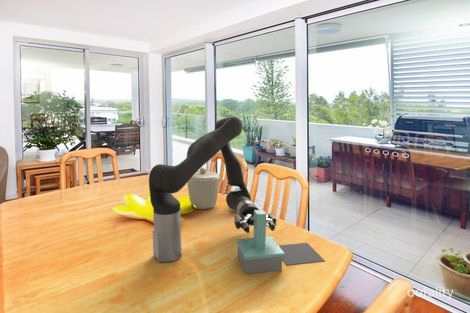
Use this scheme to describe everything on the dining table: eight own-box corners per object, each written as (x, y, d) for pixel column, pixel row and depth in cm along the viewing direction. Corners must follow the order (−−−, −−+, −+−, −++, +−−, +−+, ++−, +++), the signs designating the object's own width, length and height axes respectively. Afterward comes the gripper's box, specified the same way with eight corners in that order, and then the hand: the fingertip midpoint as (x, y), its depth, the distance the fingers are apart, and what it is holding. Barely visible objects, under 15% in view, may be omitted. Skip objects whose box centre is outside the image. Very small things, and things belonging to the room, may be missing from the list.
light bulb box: (242, 212, 155) (242, 191, 154) (229, 211, 157) (229, 190, 155) (245, 205, 166) (246, 185, 164) (233, 204, 167) (233, 185, 165)
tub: (281, 272, 100) (282, 255, 99) (246, 276, 98) (246, 259, 97) (269, 254, 112) (270, 239, 111) (237, 258, 109) (237, 242, 108)
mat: (324, 263, 106) (324, 260, 106) (286, 267, 103) (286, 264, 103) (306, 245, 120) (307, 242, 120) (272, 248, 117) (272, 245, 117)
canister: (226, 208, 160) (226, 169, 157) (195, 214, 151) (194, 173, 147) (210, 199, 176) (210, 163, 172) (181, 204, 166) (180, 166, 162)
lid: (284, 258, 99) (285, 217, 97) (245, 263, 96) (245, 220, 94) (271, 241, 112) (272, 204, 109) (236, 244, 109) (236, 206, 106)
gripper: (229, 203, 115) (240, 220, 99) (266, 201, 118) (281, 216, 102) (229, 222, 116) (239, 241, 100) (265, 220, 119) (280, 238, 103)
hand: (260, 229), depth 101 cm, fingers open, 8 cm apart
